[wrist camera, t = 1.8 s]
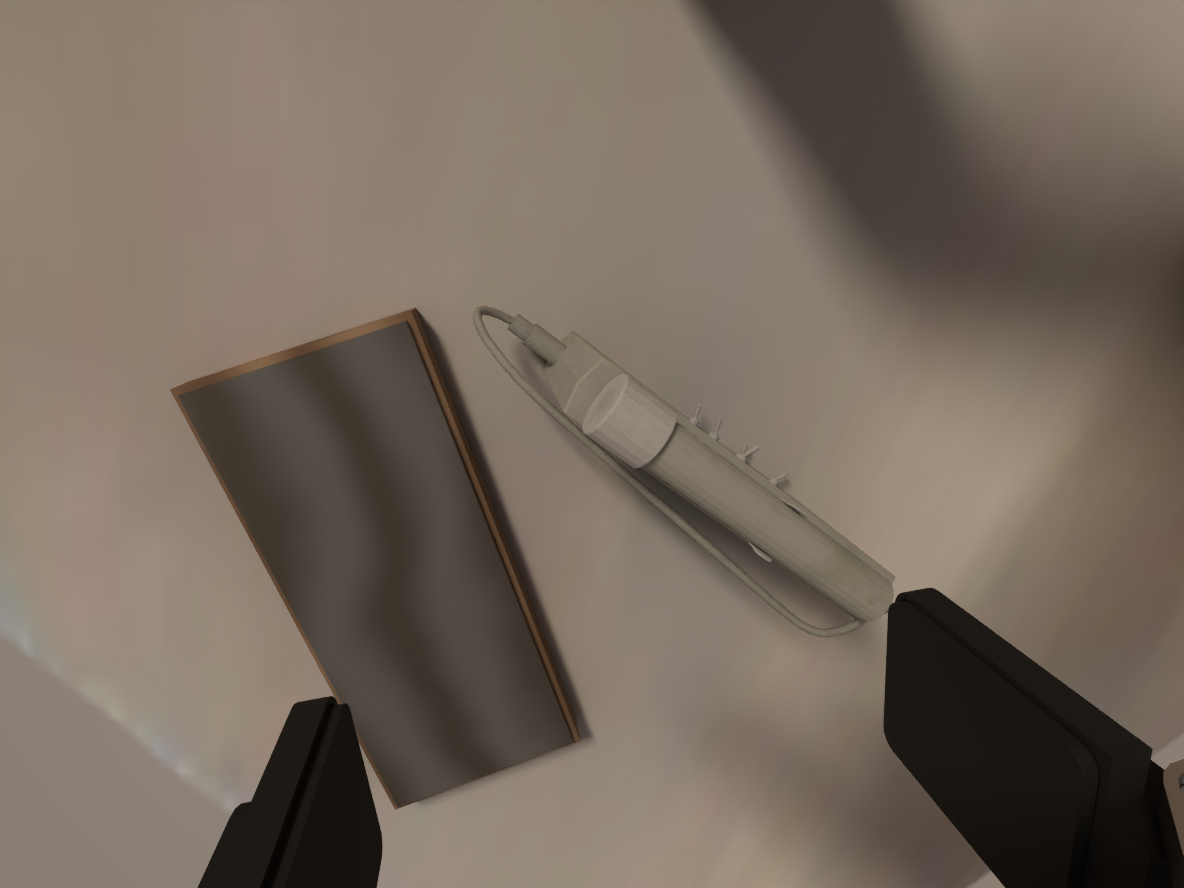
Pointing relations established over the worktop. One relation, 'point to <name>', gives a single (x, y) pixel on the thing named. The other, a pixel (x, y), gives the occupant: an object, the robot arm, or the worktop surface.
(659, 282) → the worktop surface
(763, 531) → the geiger counter
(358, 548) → the brown wooden board
